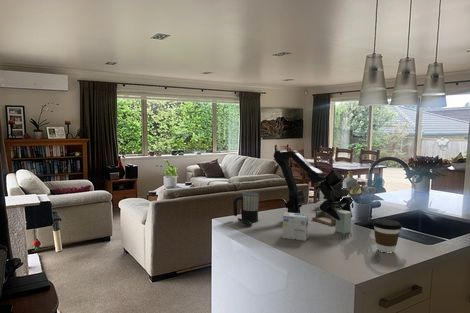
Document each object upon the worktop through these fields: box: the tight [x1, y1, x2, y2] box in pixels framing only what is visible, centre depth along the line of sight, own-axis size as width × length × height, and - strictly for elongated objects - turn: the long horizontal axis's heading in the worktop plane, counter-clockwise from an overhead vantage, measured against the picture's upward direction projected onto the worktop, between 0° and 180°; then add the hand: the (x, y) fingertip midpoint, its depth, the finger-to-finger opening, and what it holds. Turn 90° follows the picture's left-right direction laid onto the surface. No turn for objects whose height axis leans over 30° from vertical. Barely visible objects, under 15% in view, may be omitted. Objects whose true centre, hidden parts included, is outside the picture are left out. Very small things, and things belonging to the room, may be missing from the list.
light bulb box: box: [281, 211, 309, 242], centre depth 151 cm, size 11×7×11 cm, turn 71°
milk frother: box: [232, 191, 260, 227], centre depth 174 cm, size 14×16×15 cm
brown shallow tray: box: [311, 210, 336, 226], centre depth 179 cm, size 10×12×4 cm
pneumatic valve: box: [316, 190, 326, 203], centre depth 207 cm, size 6×12×12 cm, turn 51°
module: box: [334, 209, 352, 235], centre depth 161 cm, size 5×5×10 cm
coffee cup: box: [371, 218, 403, 254], centre depth 136 cm, size 11×11×12 cm
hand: (345, 218), depth 160 cm, fingers open, 9 cm apart
